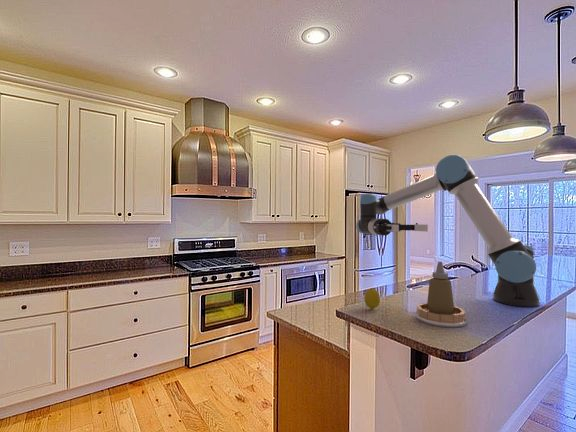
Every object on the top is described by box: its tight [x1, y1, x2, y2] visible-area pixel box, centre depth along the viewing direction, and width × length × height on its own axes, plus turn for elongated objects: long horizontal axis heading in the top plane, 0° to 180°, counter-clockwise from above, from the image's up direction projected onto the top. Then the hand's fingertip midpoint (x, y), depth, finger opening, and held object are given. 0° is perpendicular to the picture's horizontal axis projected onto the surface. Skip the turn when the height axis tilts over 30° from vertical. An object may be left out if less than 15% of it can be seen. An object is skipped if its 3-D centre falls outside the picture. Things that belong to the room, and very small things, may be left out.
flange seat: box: [415, 302, 467, 329], centre depth 102 cm, size 15×15×4 cm
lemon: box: [364, 287, 381, 310], centre depth 114 cm, size 6×6×8 cm
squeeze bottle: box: [426, 261, 455, 314], centre depth 102 cm, size 8×8×18 cm
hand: (412, 228), depth 119 cm, fingers open, 13 cm apart
